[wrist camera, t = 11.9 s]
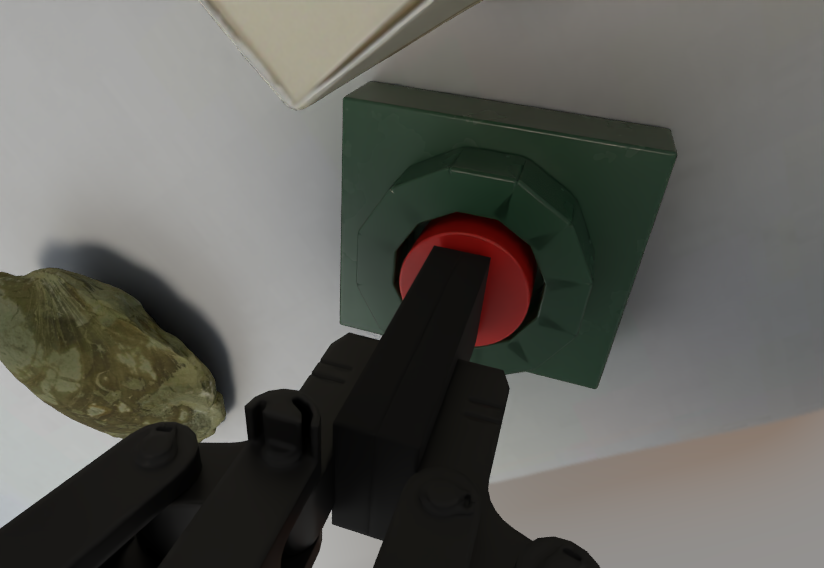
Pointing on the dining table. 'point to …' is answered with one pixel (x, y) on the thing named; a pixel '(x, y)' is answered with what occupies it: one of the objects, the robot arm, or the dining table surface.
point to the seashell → (101, 356)
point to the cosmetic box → (324, 38)
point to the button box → (503, 211)
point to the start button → (506, 272)
